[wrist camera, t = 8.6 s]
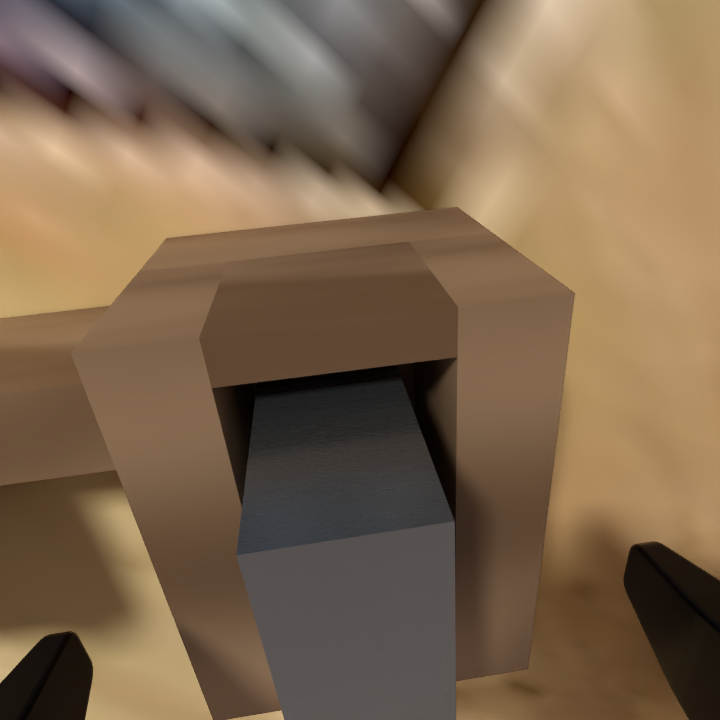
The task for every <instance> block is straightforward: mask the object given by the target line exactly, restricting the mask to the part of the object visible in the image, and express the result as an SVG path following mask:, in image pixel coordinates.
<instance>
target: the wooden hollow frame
mask: <svg viewBox="0 0 720 720" xmlns="http://www.w3.org/2000/svg"><path fill="white" fill-rule="evenodd" d="M574 296H575V293H574V292H573V291H572V290H570V289H569V288H568V287H566V286H565V285H563V284H562V283H561V282H559V281H558V280H557V279H555V278H554V277H552V276H551V275H550V274H548V273H547V272H546V271H544V270H543V269H541V268H540V267H539V266H537V265H536V264H535V263H533V262H532V261H530V260H529V259H528V258H526V257H525V256H524V255H522V254H521V253H519V252H518V251H517V250H515V249H514V248H513V247H511V246H510V245H509V244H507V243H506V242H504V241H503V240H502V239H500V238H499V237H498V236H496V235H495V234H493V233H492V232H491V231H489V230H488V229H487V228H485V227H484V226H482V225H481V224H480V223H478V222H477V221H476V220H474V219H473V218H471V217H470V216H469V215H467V214H466V213H465V212H463V211H462V210H461V209H459V208H458V207H454V208H444V209H435V210H426V211H416V212H407V213H398V214H389V215H379V216H370V217H361V218H351V219H342V220H333V221H323V222H314V223H305V224H296V225H286V226H277V227H268V228H258V229H249V230H240V231H230V232H221V233H212V234H203V235H193V236H184V237H175V238H167V239H166V240H165V241H164V242H163V243H162V245H161V246H160V247H159V248H158V249H157V251H156V252H155V253H154V254H153V255H152V257H151V258H150V259H149V260H148V261H147V263H146V264H145V265H144V266H143V267H142V269H141V270H140V271H139V272H138V273H137V275H136V276H135V277H134V278H133V279H132V281H131V282H130V283H129V284H128V285H127V286H126V288H125V289H124V290H123V291H122V292H121V294H120V295H119V296H118V297H117V298H116V300H115V301H114V302H113V303H112V304H111V306H107V307H98V308H89V309H80V310H72V311H63V312H54V313H46V314H37V315H28V316H20V317H11V318H2V319H0V486H1V485H9V484H16V483H24V482H31V481H38V480H46V479H53V478H61V477H68V476H76V475H83V474H90V473H98V472H105V471H113V470H116V471H117V474H118V476H119V479H120V481H121V484H122V487H123V489H124V492H125V494H126V497H127V499H128V502H129V505H130V507H131V510H132V512H133V515H134V517H135V520H136V523H137V525H138V528H139V530H140V533H141V535H142V538H143V541H144V543H145V546H146V548H147V551H148V553H149V556H150V559H151V561H152V564H153V566H154V569H155V571H156V574H157V577H158V579H159V582H160V584H161V587H162V589H163V592H164V595H165V597H166V600H167V602H168V605H169V607H170V610H171V613H172V615H173V618H174V620H175V623H176V625H177V628H178V631H179V633H180V636H181V638H182V641H183V643H184V646H185V648H186V651H187V654H188V656H189V659H190V661H191V664H192V666H193V669H194V672H195V674H196V677H197V679H198V682H199V684H200V687H201V690H202V692H203V695H204V697H205V700H206V702H207V705H208V708H209V710H210V713H211V715H212V718H213V720H226V719H232V718H238V717H244V716H250V715H256V714H262V713H268V712H274V711H280V710H282V709H281V706H280V703H279V699H278V696H277V692H276V689H275V686H274V682H273V679H272V675H271V672H270V669H269V665H268V662H267V658H266V655H265V652H264V648H263V645H262V641H261V638H260V635H259V631H258V628H257V624H256V621H255V617H254V614H253V611H252V607H251V604H250V600H249V597H248V594H247V590H246V587H245V583H244V580H243V577H242V573H241V570H240V566H239V563H238V560H237V556H236V553H237V545H238V537H239V528H240V520H241V512H242V504H243V495H244V487H245V479H246V471H247V462H248V454H249V446H250V437H251V429H252V421H253V413H254V404H255V396H256V388H257V382H264V381H272V380H280V379H288V378H296V377H304V376H312V375H320V374H328V373H335V372H343V371H351V370H359V369H367V368H375V367H383V366H391V365H397V368H398V371H399V373H400V376H401V379H402V381H403V384H404V387H405V389H406V392H407V395H408V398H409V400H410V403H411V406H412V408H413V411H414V414H415V416H416V419H417V422H418V424H419V427H420V430H421V432H422V435H423V438H424V440H425V443H426V446H427V448H428V451H429V454H430V457H431V459H432V462H433V465H434V467H435V470H436V473H437V475H438V478H439V481H440V483H441V486H442V489H443V491H444V494H445V497H446V499H447V502H448V505H449V507H450V510H451V513H452V516H453V518H454V521H455V640H456V681H460V680H466V679H472V678H478V677H484V676H490V675H496V674H502V673H508V672H514V671H520V670H526V669H528V666H529V658H530V650H531V642H532V634H533V626H534V618H535V610H536V602H537V594H538V586H539V578H540V570H541V562H542V554H543V545H544V537H545V529H546V521H547V513H548V505H549V497H550V489H551V481H552V473H553V465H554V457H555V449H556V441H557V433H558V425H559V417H560V409H561V401H562V393H563V384H564V376H565V368H566V360H567V352H568V344H569V336H570V328H571V320H572V312H573V304H574Z"/></svg>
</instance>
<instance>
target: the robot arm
mask: <svg viewBox="0 0 720 720" xmlns="http://www.w3.org/2000/svg"><path fill="white" fill-rule="evenodd" d="M624 587H625V590H626V593H627V595H628V597H629V599H630V602H631V604H632V606H633V608H634V610H635V612H636V614H637V617H638V619H639V621H640V623H641V625H642V627H643V630H644V632H645V634H646V636H647V638H648V640H649V643H650V645H651V647H652V649H653V651H654V653H655V656H656V658H657V660H658V662H659V664H660V666H661V669H662V671H663V673H664V675H665V677H666V679H667V681H668V683H669V685H670V687H671V689H672V691H673V692H674V694H675V696H676V698H677V700H678V702H679V703H680V705H681V707H682V709H683V710H684V712H685V714H686V715H687V717H688V719H689V720H720V580H718V579H717V578H715V577H714V576H712V575H711V574H709V573H707V572H706V571H704V570H703V569H701V568H700V567H698V566H696V565H695V564H693V563H692V562H690V561H688V560H687V559H685V558H684V557H682V556H681V555H679V554H677V553H676V552H674V551H673V550H671V549H670V548H668V547H666V546H665V545H663V544H661V543H659V542H646V543H639V544H635V545H633V546H632V547H631V548H630V551H629V555H628V560H627V564H626V568H625V572H624ZM92 678H93V665H92V662H91V659H90V657H89V655H88V654H87V652H86V650H85V648H84V646H83V644H82V642H81V641H80V639H79V637H78V635H77V634H76V633H74V632H72V631H68V632H61V633H55V634H50V635H47V636H45V637H44V638H42V639H41V640H40V641H39V642H38V643H37V644H36V645H35V646H34V647H33V648H32V650H31V651H30V652H29V653H28V654H27V655H26V656H25V657H24V658H23V659H22V660H21V661H20V663H19V664H18V665H17V666H16V667H15V668H14V669H13V670H12V671H11V672H10V673H9V674H8V676H7V677H6V678H5V679H4V680H3V681H2V682H1V683H0V720H85V717H86V711H87V706H88V701H89V695H90V690H91V684H92Z"/></svg>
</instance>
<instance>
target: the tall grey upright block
mask: <svg viewBox="0 0 720 720" xmlns="http://www.w3.org/2000/svg"><path fill="white" fill-rule="evenodd" d="M236 556H237V560H238V563H239V566H240V570H241V573H242V577H243V580H244V583H245V587H246V590H247V594H248V597H249V600H250V604H251V607H252V611H253V614H254V617H255V621H256V624H257V628H258V631H259V635H260V638H261V641H262V645H263V648H264V652H265V655H266V658H267V662H268V665H269V669H270V672H271V675H272V679H273V682H274V686H275V689H276V692H277V696H278V699H279V703H280V706H281V709H282V713H283V716H284V720H456V640H455V521H454V518H453V516H452V513H451V510H450V507H449V505H448V502H447V499H446V497H445V494H444V491H443V489H442V486H441V483H440V481H439V478H438V475H437V473H436V470H435V467H434V465H433V462H432V459H431V457H430V454H429V451H428V448H427V446H426V443H425V440H424V438H423V435H422V432H421V430H420V427H419V424H418V422H417V419H416V416H415V414H414V411H413V408H412V406H411V403H410V400H409V398H408V395H407V392H406V389H405V387H404V384H403V381H402V379H401V376H400V373H399V371H398V368H397V365H391V366H383V367H375V368H367V369H359V370H351V371H343V372H335V373H328V374H320V375H312V376H304V377H296V378H288V379H280V380H272V381H264V382H257V388H256V396H255V404H254V413H253V421H252V429H251V437H250V446H249V454H248V462H247V471H246V479H245V487H244V495H243V504H242V512H241V520H240V528H239V537H238V545H237V553H236Z"/></svg>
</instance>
